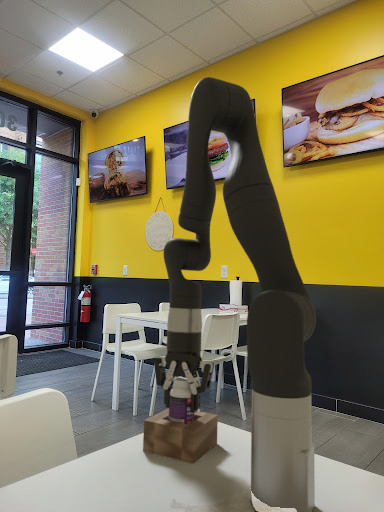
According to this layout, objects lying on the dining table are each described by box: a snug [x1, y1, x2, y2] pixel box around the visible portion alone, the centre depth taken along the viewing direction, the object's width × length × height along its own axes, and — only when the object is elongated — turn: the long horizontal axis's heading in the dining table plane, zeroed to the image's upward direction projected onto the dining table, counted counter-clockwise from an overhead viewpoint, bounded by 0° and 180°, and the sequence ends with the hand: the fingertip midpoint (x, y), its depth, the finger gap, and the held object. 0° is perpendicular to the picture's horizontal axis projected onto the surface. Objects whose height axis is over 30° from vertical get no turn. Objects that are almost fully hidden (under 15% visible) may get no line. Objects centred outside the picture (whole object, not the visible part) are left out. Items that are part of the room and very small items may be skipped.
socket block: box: [142, 408, 219, 464], centre depth 79 cm, size 12×12×6 cm
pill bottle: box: [169, 376, 194, 425], centre depth 80 cm, size 5×5×10 cm
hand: (181, 408), depth 80 cm, fingers closed on pill bottle, 5 cm apart
